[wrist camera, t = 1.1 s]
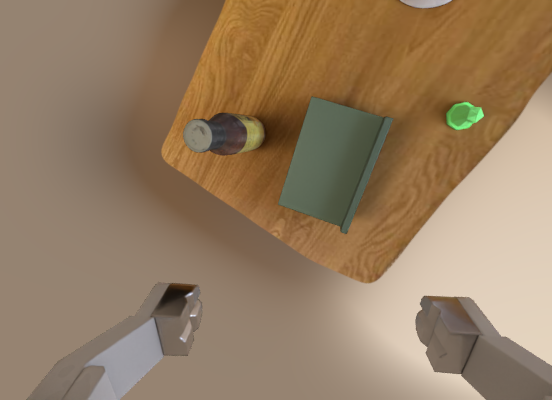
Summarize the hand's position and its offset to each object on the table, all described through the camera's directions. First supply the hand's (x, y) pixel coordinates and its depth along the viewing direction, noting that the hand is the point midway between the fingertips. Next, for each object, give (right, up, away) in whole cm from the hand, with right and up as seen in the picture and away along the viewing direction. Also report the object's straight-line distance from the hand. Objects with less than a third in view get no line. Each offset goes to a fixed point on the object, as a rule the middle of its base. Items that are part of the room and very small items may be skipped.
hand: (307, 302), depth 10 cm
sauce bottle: (-6, +16, +43) cm, 46 cm away
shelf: (+9, +11, +40) cm, 43 cm away
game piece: (+28, +17, +35) cm, 48 cm away
